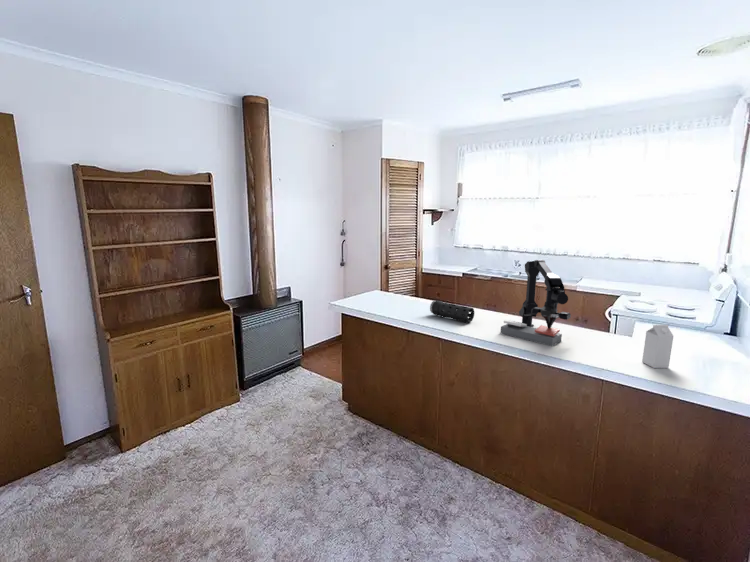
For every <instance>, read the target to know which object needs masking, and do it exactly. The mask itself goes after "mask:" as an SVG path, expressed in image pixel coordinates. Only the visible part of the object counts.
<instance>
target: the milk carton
mask: <svg viewBox="0 0 750 562" xmlns="http://www.w3.org/2000/svg"><path fill="white" fill-rule="evenodd" d="M652 326H653V327H652V328H650V329H648V330H646V331H645V340H644V345H643V346H644V347H643V353H642V360H641V362H642V363H643V364H645V365H646V366H649V367H651V368H654V369H668V368H669V366H670V360H671V355H672V350H673V349H672V347H673V343H674V342H673V341H674V334H673V332H672V331H671V329H670V328H669V324H654V325H652Z"/></svg>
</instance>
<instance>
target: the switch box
mask: <svg viewBox="0 0 750 562" xmlns="http://www.w3.org/2000/svg"><path fill="white" fill-rule="evenodd" d="M537 328H538V327H537ZM537 328H536V327H534V326H532V327H529V326H523V327H520V326H515V325H511V324H507V323H505V324H504V325H501V326H500V334H501V333H502V335H505V334H506V336H509V335H510V336H511V337H514V338H518V339H522V340H526V341H529V342H530V341H531V342H535V343H538V344H542V345H545V346H551V347H553V346H555V345H557V344H559V343H560V342H562V337H563V335H562V333H560V332H558V333H557V334H556V335H555V336H550V335H545V334H541V333H536V332H535V329H537Z"/></svg>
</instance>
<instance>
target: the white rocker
mask: <svg viewBox="0 0 750 562" xmlns="http://www.w3.org/2000/svg"><path fill="white" fill-rule="evenodd" d="M503 324H511V325H515V326H520V327H523V326H527V324H524V323H522V322H520V321H515V320H503Z"/></svg>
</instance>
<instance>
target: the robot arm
mask: <svg viewBox="0 0 750 562" xmlns="http://www.w3.org/2000/svg"><path fill="white" fill-rule="evenodd" d="M524 272H525V274H526V275H527V281H526V294H525V295H526V296H525V300H524V302H523V303H522V307H521V308H520V309H519V311H518V315H519V316H521V317H522V318H521V323H524V324H527V326H529V327H534V326H535V325H534V324H533V318H535V317H537V315H538V314H540V315H541V317H542V318H544V320H545V323H546V326H548V328H551V327H552V326H553V324H554V322H555V321H556V320H557V319H562V320H565V321H567V320H569V319H571V316H572V315H571V313H570V312H566V311H561V312H558V311H559V310H558V305H566V303H568V301H569V295H568V294H566V291H565V286H564V282H563V281H562V279H561V277H560V276H559V275H558V274H555V273H554V272H552V270H551V269H550V267H549V266H548V265H547V263H546V260H544V259H535V260H532V261H529V260H528V261H526V263H524ZM539 274H541V275H542V277H543V278H544V284H545V286H546V288H545V291H546V299H545V301H544V305H543V306H542V307H539V306H538V305H539V304H537V303H536V289H537V288H536V286H537V277H538V275H539Z"/></svg>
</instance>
